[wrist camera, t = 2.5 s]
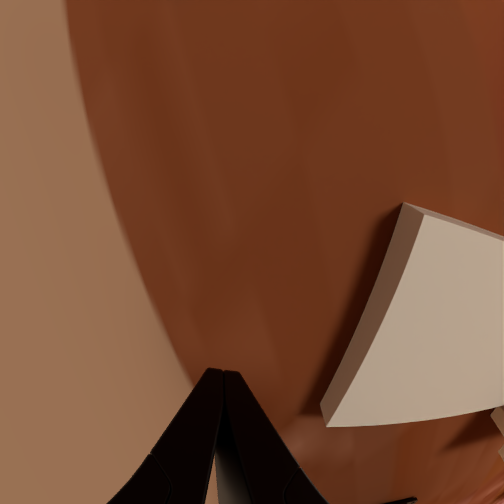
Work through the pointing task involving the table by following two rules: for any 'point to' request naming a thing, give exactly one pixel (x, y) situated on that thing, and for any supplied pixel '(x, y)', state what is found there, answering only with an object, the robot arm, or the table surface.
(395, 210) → the table surface
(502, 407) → the cream rectangular slab
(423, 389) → the pale wall plate
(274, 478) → the robot arm
